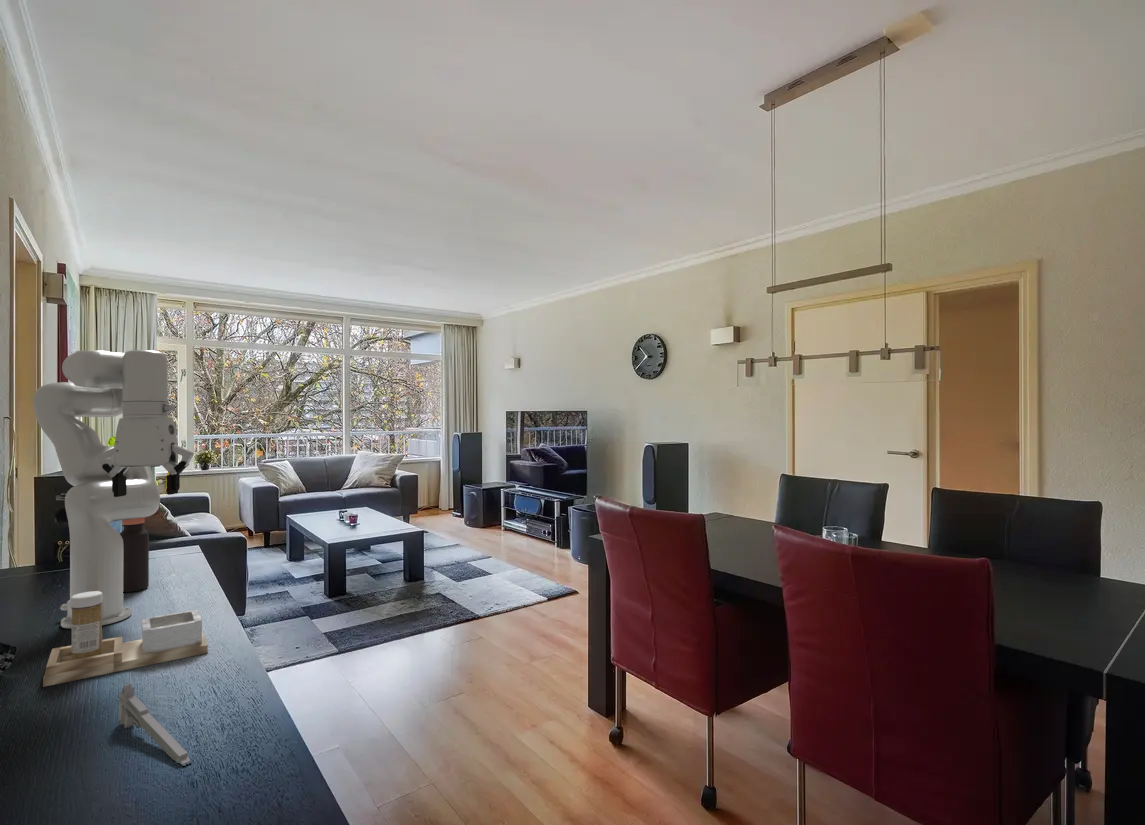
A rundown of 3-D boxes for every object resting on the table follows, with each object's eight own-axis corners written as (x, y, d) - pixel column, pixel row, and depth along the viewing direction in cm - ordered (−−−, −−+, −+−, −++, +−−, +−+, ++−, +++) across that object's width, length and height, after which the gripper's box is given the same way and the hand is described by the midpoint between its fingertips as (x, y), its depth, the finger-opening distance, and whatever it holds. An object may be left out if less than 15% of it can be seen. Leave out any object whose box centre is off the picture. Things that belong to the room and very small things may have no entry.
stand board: (43, 686, 101) (43, 669, 101) (50, 664, 110) (50, 647, 110) (207, 652, 115) (207, 637, 115) (201, 635, 125) (201, 620, 125)
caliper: (118, 726, 88) (118, 684, 88) (126, 723, 89) (126, 681, 89) (183, 770, 77) (183, 721, 77) (192, 765, 78) (192, 717, 78)
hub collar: (142, 655, 110) (142, 631, 110) (141, 640, 118) (142, 618, 118) (202, 644, 116) (202, 620, 116) (197, 630, 123) (197, 609, 123)
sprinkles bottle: (105, 660, 112) (105, 589, 112) (98, 669, 108) (98, 595, 108) (74, 664, 110) (75, 592, 110) (66, 674, 106) (66, 598, 106)
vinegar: (154, 587, 162) (155, 513, 162) (130, 594, 156) (131, 517, 156) (135, 585, 164) (135, 513, 164) (110, 592, 157) (111, 517, 157)
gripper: (200, 410, 126) (201, 491, 125) (110, 412, 123) (110, 495, 123) (182, 409, 119) (183, 495, 118) (86, 411, 116) (86, 499, 115)
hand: (146, 495), depth 120 cm, fingers open, 9 cm apart
